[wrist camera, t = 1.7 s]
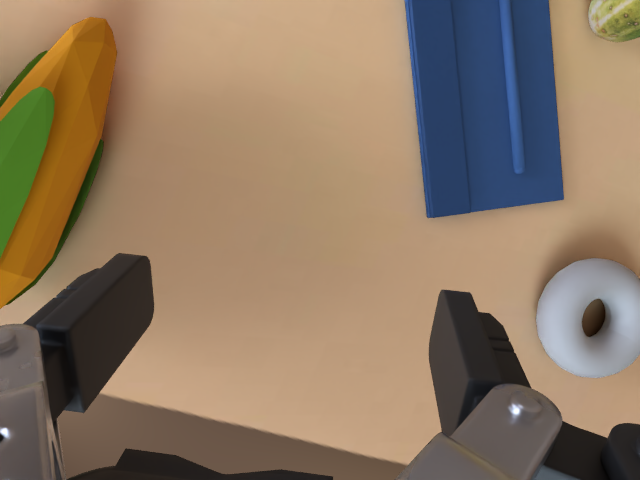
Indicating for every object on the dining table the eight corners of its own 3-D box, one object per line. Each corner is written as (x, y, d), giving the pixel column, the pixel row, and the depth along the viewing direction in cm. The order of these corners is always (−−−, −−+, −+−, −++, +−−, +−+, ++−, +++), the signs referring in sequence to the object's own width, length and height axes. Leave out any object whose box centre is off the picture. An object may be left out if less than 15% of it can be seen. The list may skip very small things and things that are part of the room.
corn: (-168, 301, 23) (6, -55, 24) (-79, 275, 31) (53, 5, 31) (-12, 353, 25) (147, 23, 26) (37, 317, 33) (159, 62, 33)
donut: (545, 242, 39) (513, 355, 39) (575, 244, 36) (539, 368, 36) (641, 273, 41) (610, 382, 41) (678, 278, 38) (644, 396, 38)
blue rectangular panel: (397, -71, 35) (402, -80, 34) (538, -74, 37) (548, -83, 36) (426, 217, 37) (432, 218, 36) (560, 199, 39) (569, 199, 38)
